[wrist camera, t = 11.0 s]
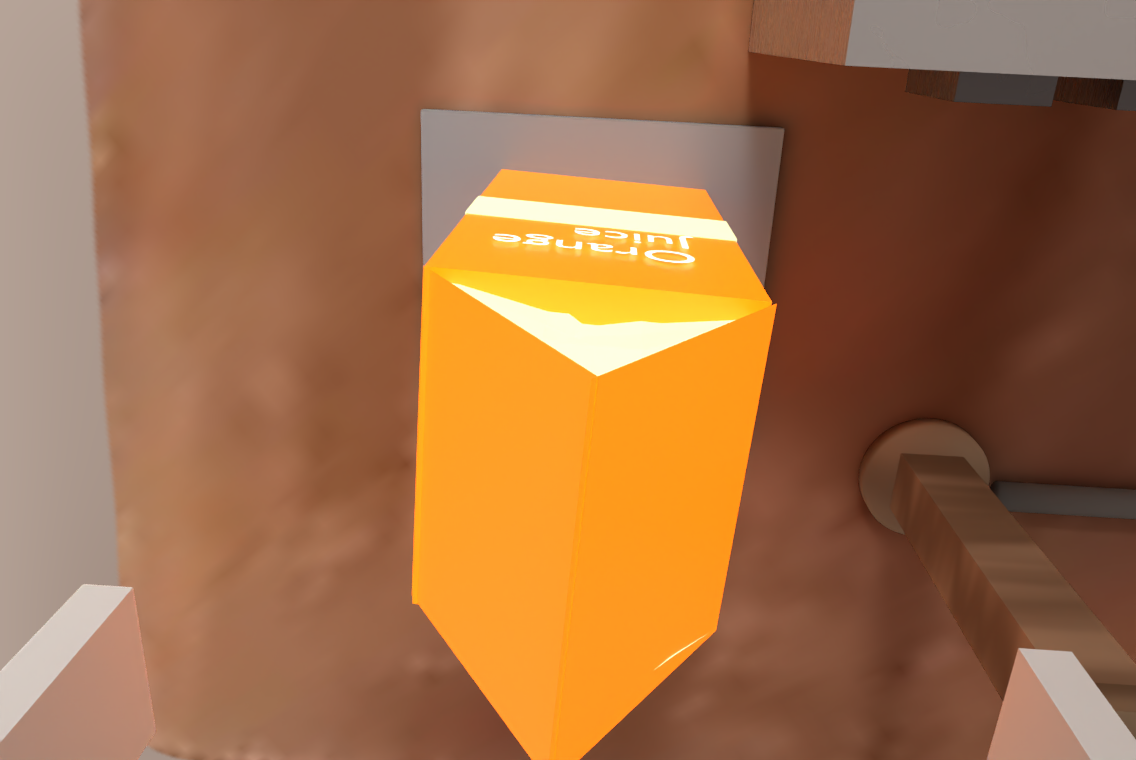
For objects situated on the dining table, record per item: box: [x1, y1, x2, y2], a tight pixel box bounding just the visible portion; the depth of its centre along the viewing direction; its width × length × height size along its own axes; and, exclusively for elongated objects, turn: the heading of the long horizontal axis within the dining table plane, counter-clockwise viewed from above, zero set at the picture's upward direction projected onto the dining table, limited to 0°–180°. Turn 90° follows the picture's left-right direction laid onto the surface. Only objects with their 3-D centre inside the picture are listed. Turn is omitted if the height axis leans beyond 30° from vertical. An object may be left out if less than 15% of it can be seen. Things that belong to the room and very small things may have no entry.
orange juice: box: [412, 169, 777, 760], centre depth 25 cm, size 8×9×20 cm
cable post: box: [858, 418, 1136, 739], centre depth 30 cm, size 5×5×16 cm
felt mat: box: [421, 109, 785, 288], centre depth 35 cm, size 13×13×1 cm
